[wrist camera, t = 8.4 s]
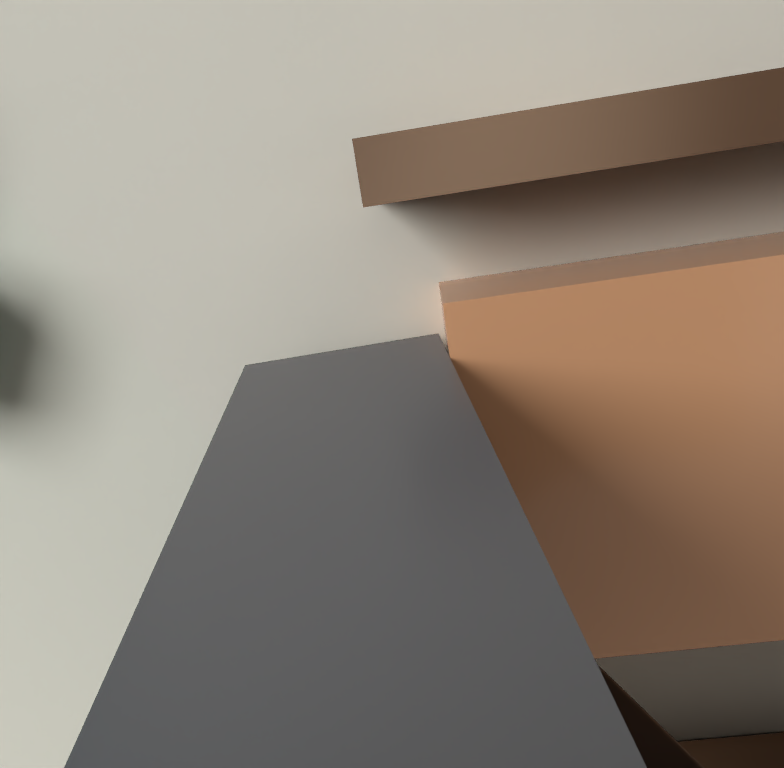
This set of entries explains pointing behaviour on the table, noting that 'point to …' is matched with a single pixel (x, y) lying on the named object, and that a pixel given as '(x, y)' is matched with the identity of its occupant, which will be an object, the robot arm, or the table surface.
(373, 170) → the walnut bay
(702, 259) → the terracotta tile
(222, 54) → the table surface
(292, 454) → the grey matte slab
